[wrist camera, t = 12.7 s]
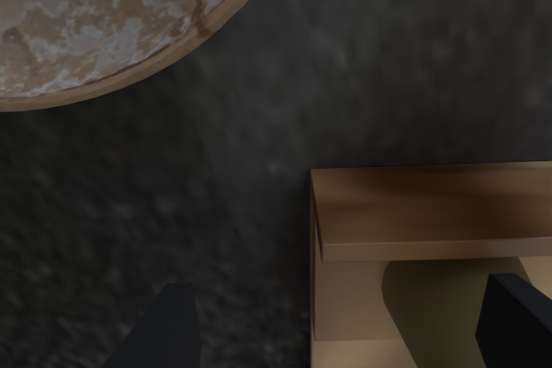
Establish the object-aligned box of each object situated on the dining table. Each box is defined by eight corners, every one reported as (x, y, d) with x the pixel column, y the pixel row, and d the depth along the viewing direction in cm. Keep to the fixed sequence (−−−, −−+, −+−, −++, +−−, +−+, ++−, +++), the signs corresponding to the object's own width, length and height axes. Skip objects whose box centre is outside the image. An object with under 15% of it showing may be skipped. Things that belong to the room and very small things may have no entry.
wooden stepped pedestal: (310, 396, 28) (318, 501, 23) (309, 168, 21) (321, 245, 16) (506, 391, 28) (560, 495, 23) (574, 159, 21) (675, 234, 16)
